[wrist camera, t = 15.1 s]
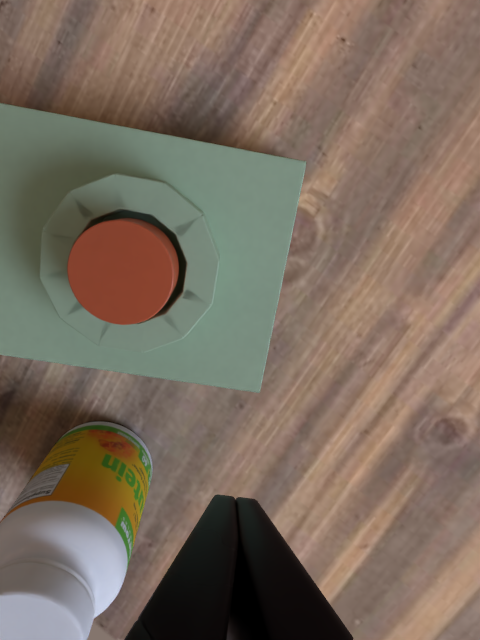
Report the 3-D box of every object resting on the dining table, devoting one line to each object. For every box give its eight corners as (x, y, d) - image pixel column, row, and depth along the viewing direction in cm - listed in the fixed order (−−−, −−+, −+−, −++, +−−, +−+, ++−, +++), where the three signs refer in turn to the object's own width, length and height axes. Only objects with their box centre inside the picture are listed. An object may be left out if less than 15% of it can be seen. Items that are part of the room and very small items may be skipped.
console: (255, 370, 22) (263, 412, 18) (15, 334, 21) (-40, 368, 17) (296, 166, 19) (316, 156, 15) (23, 114, 18) (-38, 88, 14)
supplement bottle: (172, 478, 23) (138, 662, 14) (90, 520, 24) (5, 725, 15) (117, 400, 22) (38, 547, 13) (31, 447, 23) (-105, 621, 13)
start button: (172, 319, 17) (166, 332, 15) (79, 304, 17) (63, 316, 15) (185, 226, 16) (180, 230, 14) (87, 209, 16) (70, 211, 14)
